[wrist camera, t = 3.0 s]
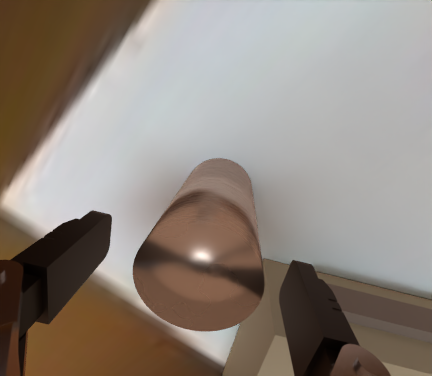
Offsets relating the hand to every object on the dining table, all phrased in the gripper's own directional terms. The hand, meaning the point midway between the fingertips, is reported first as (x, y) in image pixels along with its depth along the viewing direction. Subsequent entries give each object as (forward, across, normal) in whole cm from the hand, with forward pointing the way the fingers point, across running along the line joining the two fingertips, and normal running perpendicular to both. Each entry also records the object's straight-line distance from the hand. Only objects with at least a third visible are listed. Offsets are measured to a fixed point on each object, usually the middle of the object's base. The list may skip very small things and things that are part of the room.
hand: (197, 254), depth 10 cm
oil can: (+8, 0, +1) cm, 9 cm away
